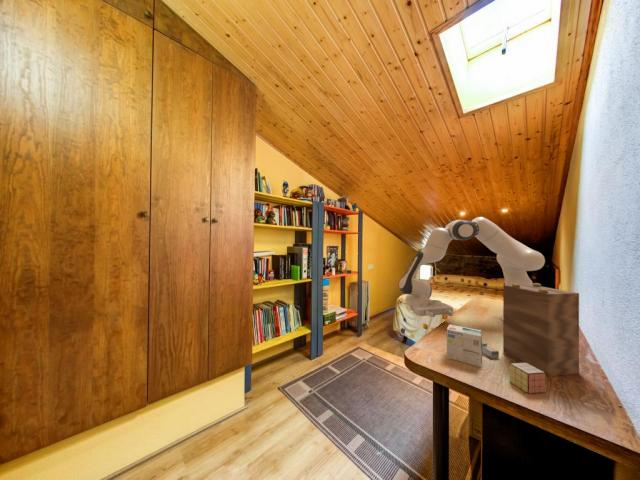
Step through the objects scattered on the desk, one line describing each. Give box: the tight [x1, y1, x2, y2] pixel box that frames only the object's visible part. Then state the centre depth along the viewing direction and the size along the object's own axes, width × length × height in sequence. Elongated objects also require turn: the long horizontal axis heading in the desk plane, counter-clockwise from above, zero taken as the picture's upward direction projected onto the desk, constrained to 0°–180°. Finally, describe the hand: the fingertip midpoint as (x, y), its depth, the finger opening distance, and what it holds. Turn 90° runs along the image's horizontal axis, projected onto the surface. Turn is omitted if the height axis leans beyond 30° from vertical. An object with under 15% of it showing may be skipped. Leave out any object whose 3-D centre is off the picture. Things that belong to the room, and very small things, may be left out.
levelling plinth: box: [502, 282, 580, 377], centre depth 81 cm, size 12×15×27 cm
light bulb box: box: [446, 324, 483, 368], centre depth 83 cm, size 11×7×11 cm, turn 54°
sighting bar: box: [446, 326, 500, 360], centre depth 95 cm, size 3×24×4 cm, turn 7°
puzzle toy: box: [509, 362, 546, 394], centre depth 67 cm, size 6×6×6 cm
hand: (442, 314), depth 113 cm, fingers open, 8 cm apart
